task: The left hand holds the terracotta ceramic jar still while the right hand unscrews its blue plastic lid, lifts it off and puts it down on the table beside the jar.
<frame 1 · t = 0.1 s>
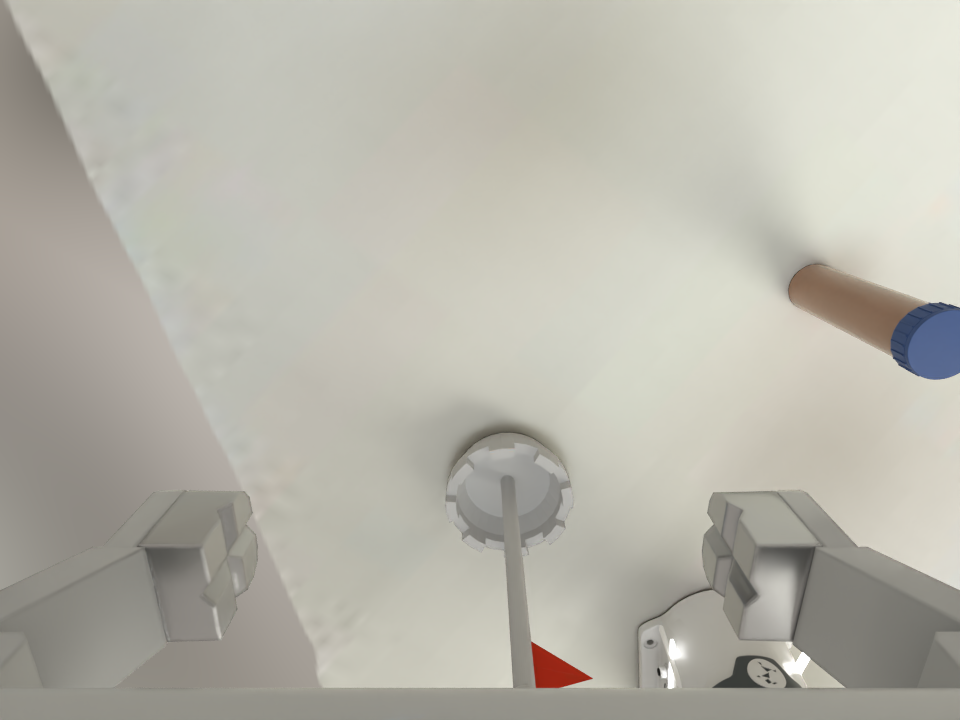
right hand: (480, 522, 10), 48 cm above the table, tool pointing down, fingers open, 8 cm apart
lid: (942, 343, 42), point 17 cm above the table, screwed on, not yet turned
jar: (812, 287, 58), on the table
flag stand: (507, 476, 65), on the table
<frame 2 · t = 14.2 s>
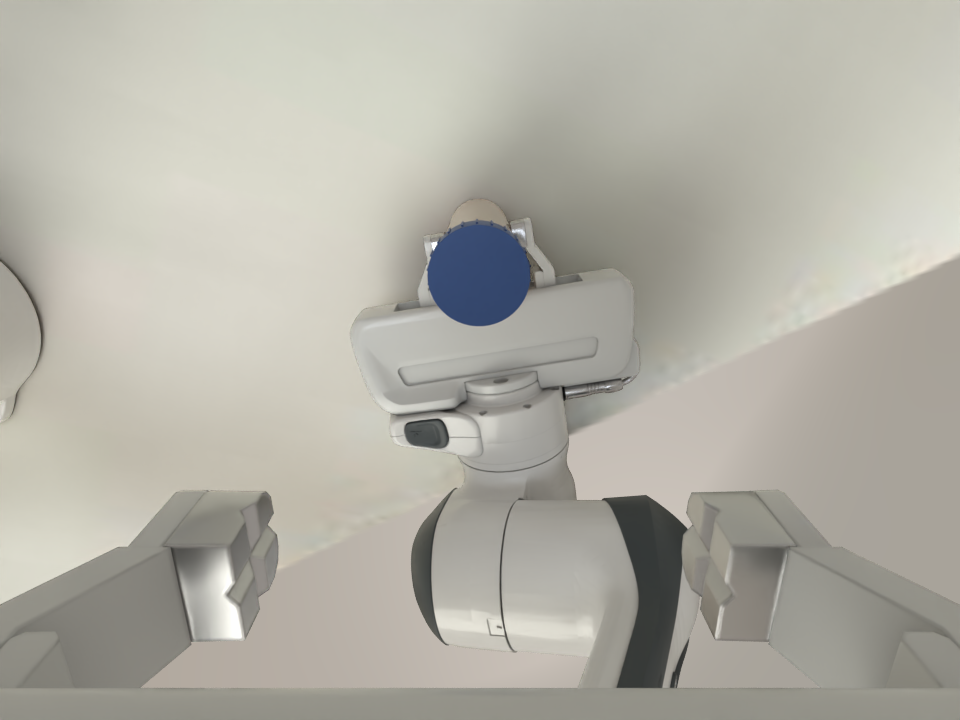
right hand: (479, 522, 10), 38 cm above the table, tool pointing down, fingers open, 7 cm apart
left hand: (476, 227, 41), fingers closed on jar, 4 cm apart
lid: (478, 275, 30), point 17 cm above the table, screwed on, not yet turned
jar: (478, 228, 46), on the table, touching left hand
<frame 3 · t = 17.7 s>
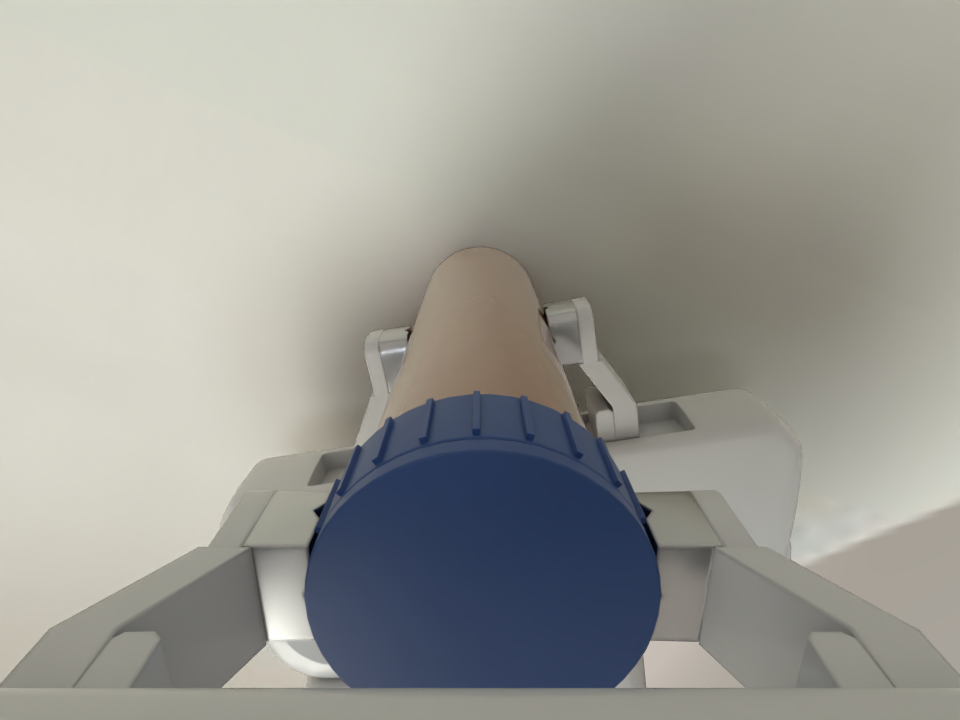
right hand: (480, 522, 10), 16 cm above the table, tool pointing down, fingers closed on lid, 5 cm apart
lid: (482, 591, 9), point 17 cm above the table, screwed on, not yet turned, touching right hand
jar: (480, 300, 25), on the table, touching left hand
when the right hand's fingers open (16 cm above the table, at t = 19.0 s): lid stays where it is, point 18 cm above the table.
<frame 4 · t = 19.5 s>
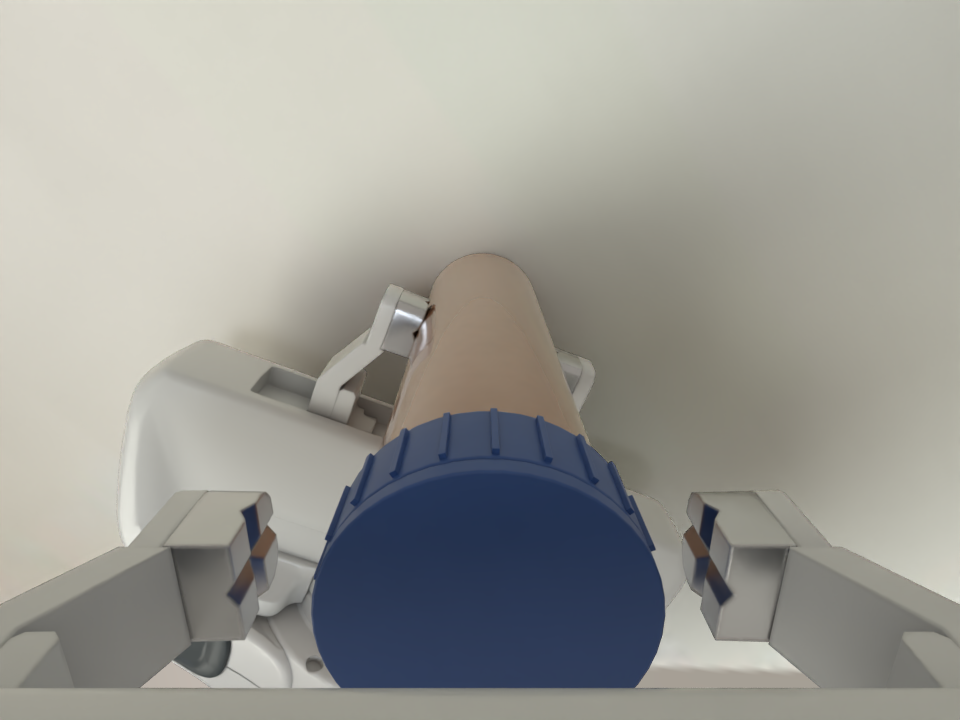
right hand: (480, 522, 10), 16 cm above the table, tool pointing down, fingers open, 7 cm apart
lid: (487, 608, 9), point 18 cm above the table, turned 60° so far, risen 0.1 cm, still on its thread
jar: (482, 306, 25), on the table, touching left hand
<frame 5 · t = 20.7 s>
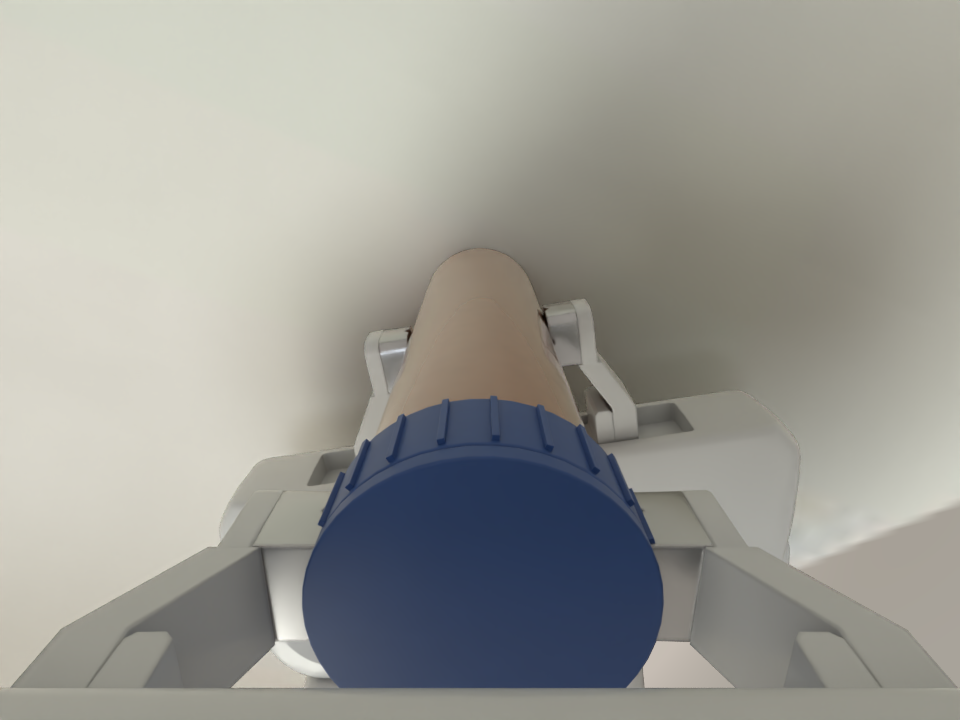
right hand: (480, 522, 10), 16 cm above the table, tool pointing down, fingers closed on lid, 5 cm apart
lid: (482, 598, 9), point 18 cm above the table, turned 60° so far, risen 0.2 cm, still on its thread, touching right hand
jar: (480, 302, 25), on the table, touching left hand
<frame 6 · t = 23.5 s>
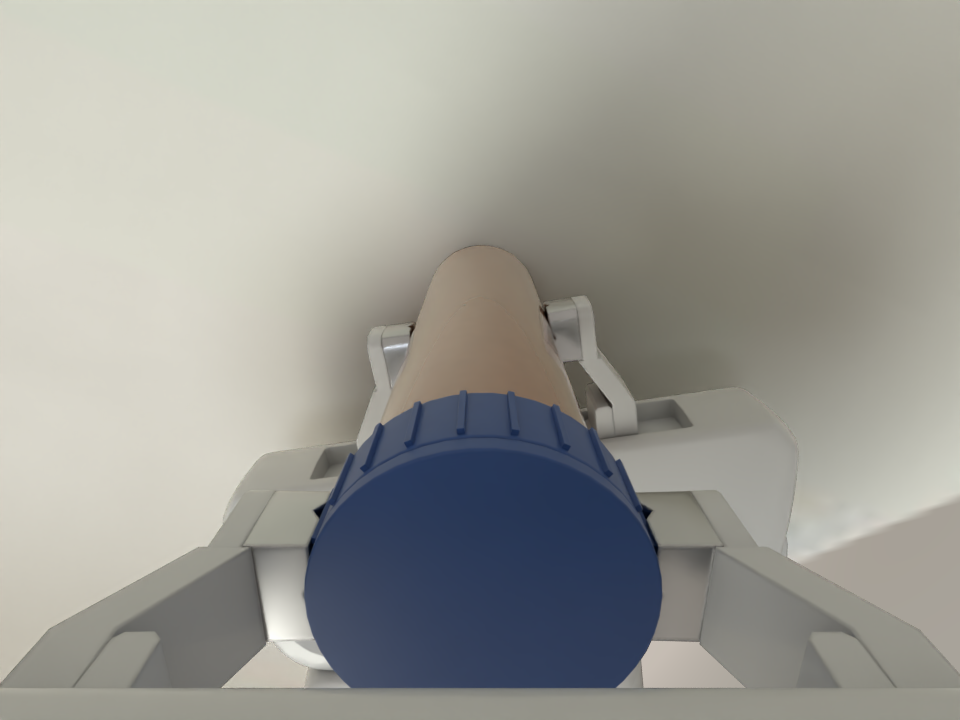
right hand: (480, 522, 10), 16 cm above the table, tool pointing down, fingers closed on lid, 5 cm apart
lid: (483, 590, 9), point 18 cm above the table, turned 120° so far, risen 0.3 cm, still on its thread, touching right hand
jar: (481, 298, 25), on the table, touching left hand
when the right hand's fingers open (2 cm above the table, at t = 32.5 s): lid drops 2 cm, point 2 cm above the table.
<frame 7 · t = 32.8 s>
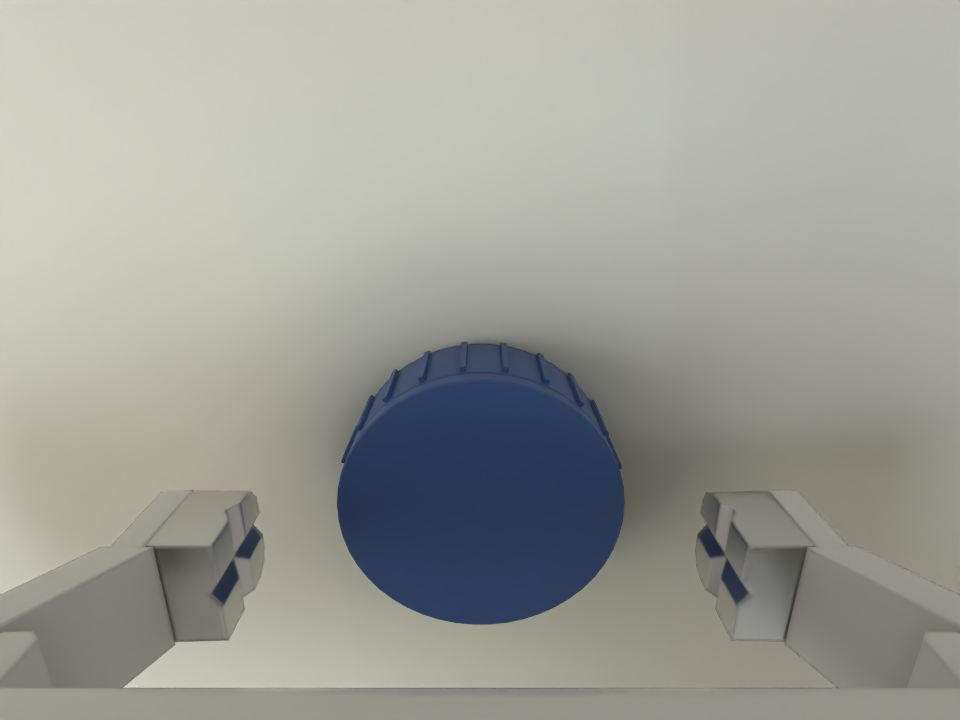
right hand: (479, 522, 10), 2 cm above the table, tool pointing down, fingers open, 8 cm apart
lid: (480, 502, 11), point 2 cm above the table, off its thread
when the left hand's fingers open (6 cm above the table, at t = 33.6 s): jar stays where it is, on the table.
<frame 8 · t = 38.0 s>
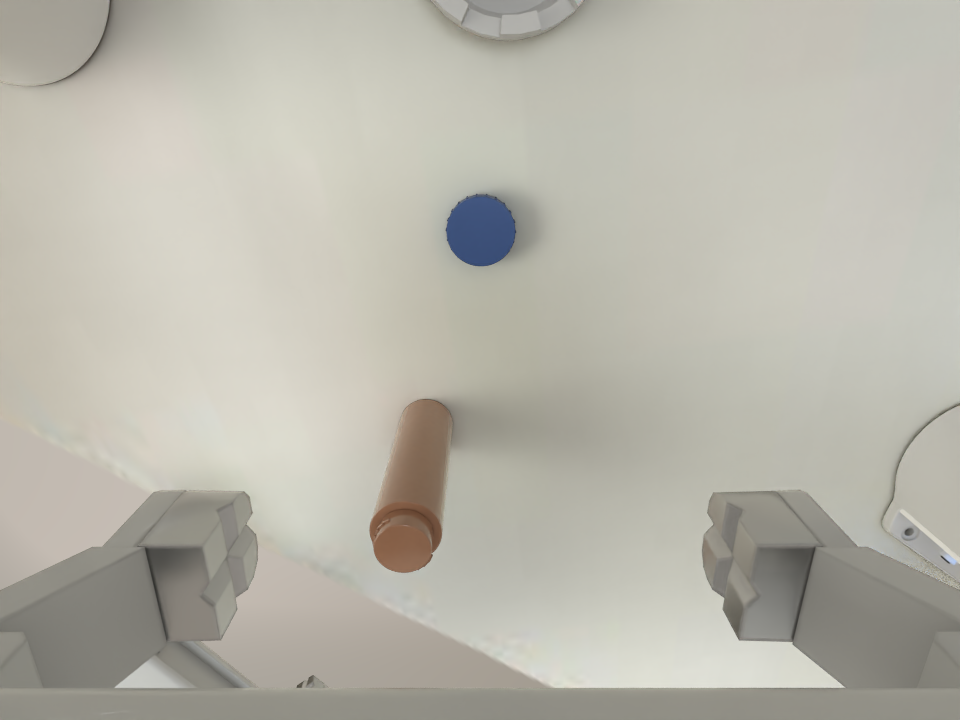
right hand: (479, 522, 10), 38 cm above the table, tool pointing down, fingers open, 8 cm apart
lid: (480, 231, 45), point 2 cm above the table, off its thread
jar: (426, 422, 52), on the table
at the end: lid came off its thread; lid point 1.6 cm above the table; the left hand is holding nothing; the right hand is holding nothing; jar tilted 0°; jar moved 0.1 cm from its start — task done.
